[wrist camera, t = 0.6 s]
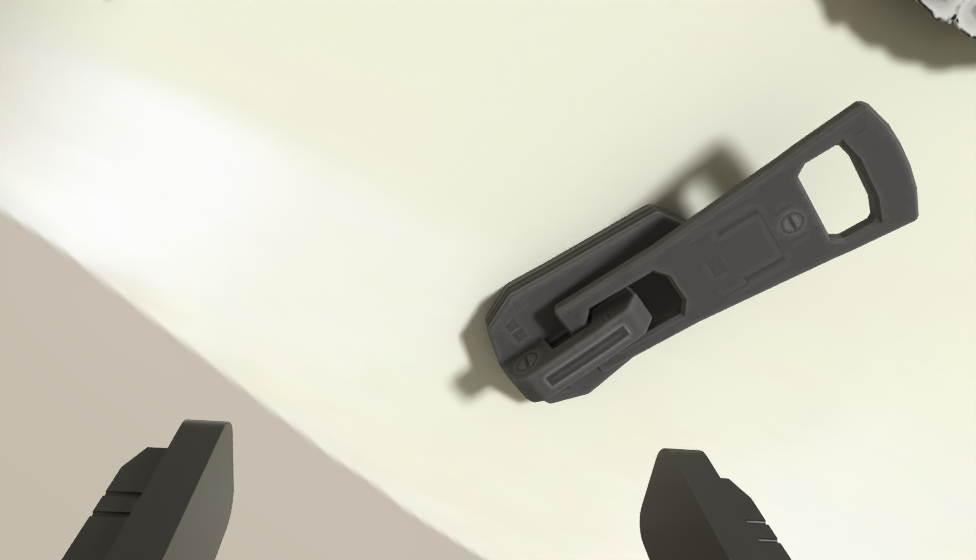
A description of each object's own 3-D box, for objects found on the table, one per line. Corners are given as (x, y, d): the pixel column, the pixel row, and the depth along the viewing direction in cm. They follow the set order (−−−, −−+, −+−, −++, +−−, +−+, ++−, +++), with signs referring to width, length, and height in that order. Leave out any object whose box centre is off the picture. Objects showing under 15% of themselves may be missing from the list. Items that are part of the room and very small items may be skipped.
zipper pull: (938, 220, 35) (561, 464, 39) (860, 188, 41) (541, 402, 45) (878, 83, 31) (472, 365, 35) (803, 71, 37) (464, 313, 41)
